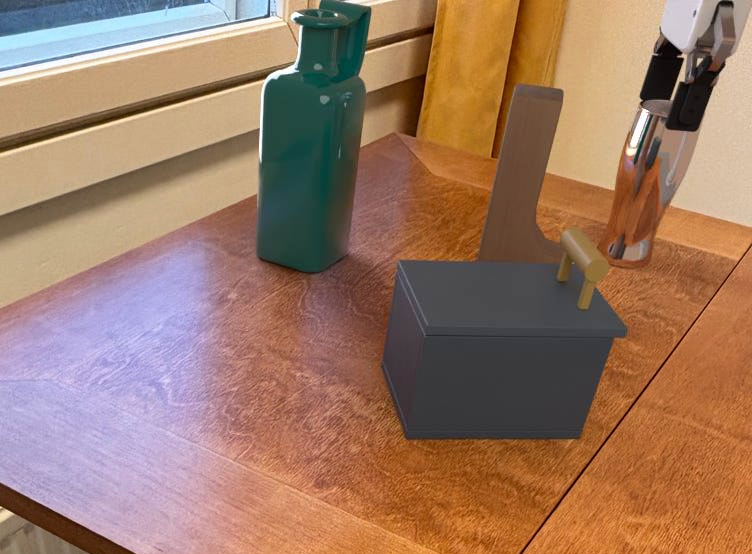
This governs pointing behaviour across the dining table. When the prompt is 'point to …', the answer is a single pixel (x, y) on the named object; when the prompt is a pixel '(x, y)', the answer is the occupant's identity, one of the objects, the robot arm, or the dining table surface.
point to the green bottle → (313, 140)
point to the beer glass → (645, 184)
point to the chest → (488, 380)
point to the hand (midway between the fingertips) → (666, 114)
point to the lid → (515, 295)
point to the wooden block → (522, 180)
